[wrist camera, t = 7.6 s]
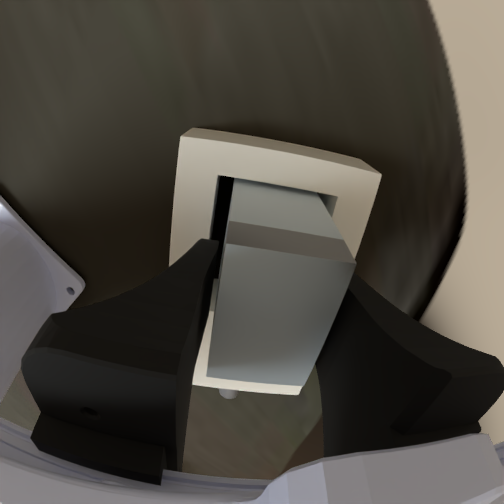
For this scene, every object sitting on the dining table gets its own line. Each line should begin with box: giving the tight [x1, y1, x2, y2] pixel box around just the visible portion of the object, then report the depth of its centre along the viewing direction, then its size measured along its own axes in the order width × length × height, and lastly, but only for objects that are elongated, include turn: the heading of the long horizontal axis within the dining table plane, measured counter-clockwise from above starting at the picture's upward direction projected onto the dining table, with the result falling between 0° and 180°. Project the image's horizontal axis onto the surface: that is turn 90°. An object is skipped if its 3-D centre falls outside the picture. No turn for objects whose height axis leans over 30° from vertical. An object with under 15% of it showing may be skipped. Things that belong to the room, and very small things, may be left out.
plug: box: [206, 178, 357, 386], centre depth 11 cm, size 4×3×7 cm, turn 170°
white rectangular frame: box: [169, 127, 382, 399], centre depth 14 cm, size 14×7×3 cm, turn 170°
